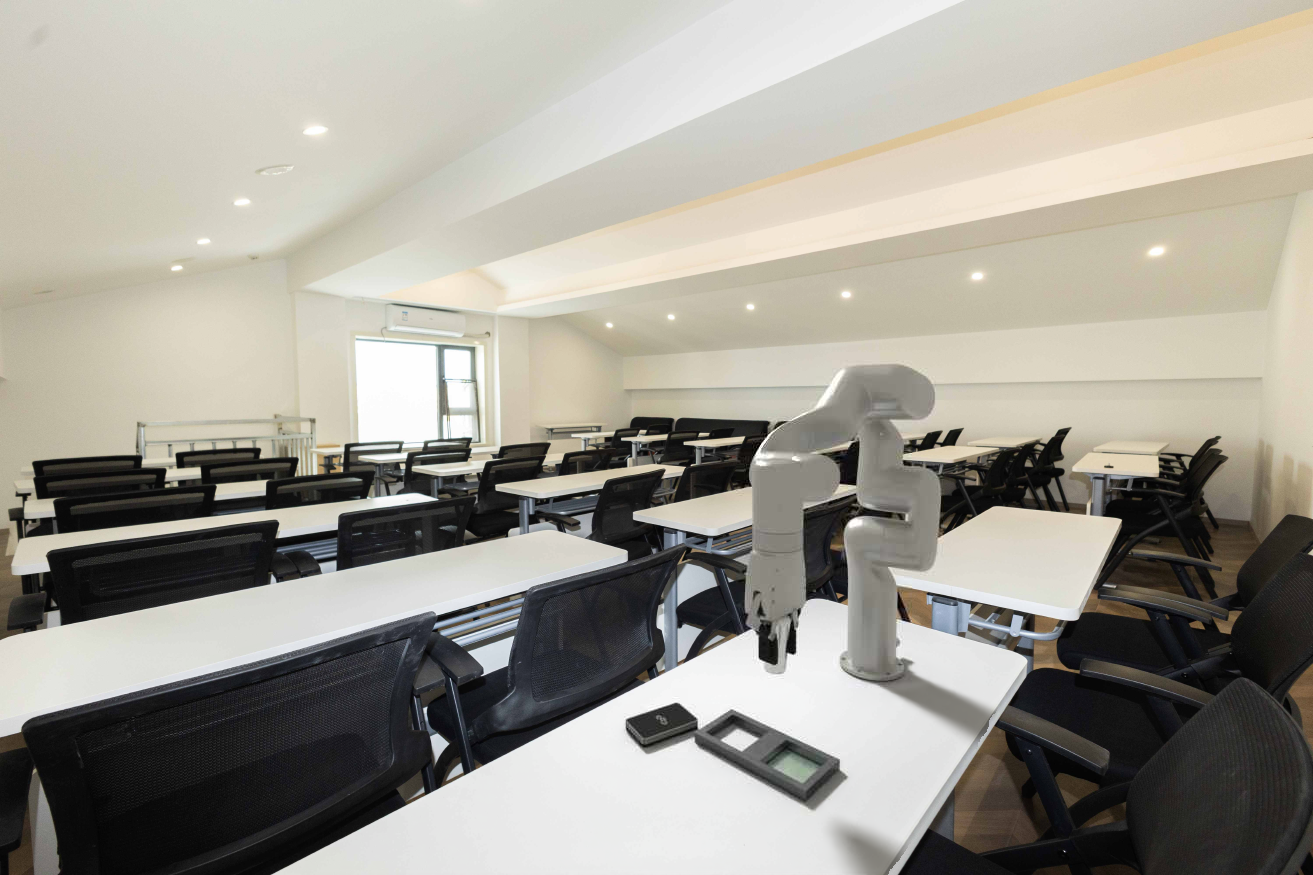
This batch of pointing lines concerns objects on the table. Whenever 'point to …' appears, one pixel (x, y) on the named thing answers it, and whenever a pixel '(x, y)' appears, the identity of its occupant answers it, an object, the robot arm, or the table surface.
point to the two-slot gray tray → (772, 755)
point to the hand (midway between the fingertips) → (777, 655)
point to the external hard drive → (661, 724)
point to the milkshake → (780, 645)
